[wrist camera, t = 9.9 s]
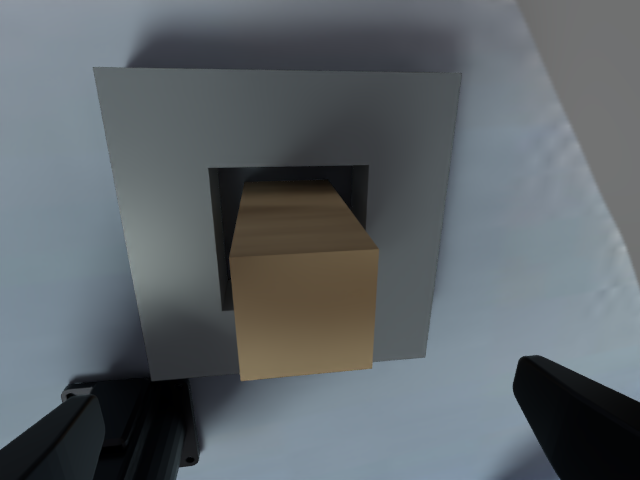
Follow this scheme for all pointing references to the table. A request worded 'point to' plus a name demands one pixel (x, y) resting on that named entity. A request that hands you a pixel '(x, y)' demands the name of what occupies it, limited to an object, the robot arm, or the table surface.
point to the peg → (301, 282)
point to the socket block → (272, 151)
